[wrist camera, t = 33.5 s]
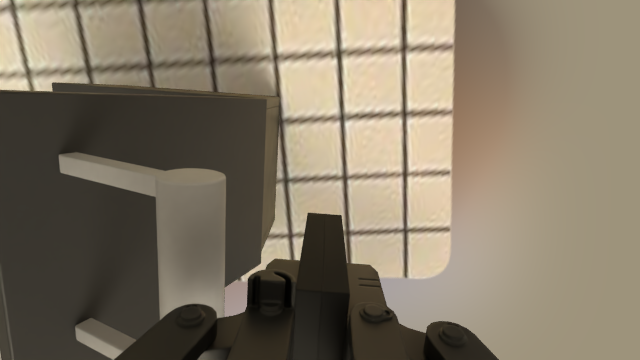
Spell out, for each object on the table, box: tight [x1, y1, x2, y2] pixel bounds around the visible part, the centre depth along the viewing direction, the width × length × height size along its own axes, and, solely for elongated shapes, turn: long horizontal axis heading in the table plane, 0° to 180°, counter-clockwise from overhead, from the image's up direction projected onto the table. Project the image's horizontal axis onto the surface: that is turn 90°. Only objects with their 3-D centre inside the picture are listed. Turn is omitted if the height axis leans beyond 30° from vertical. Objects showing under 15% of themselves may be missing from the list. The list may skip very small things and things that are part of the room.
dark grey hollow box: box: [52, 83, 280, 251], centre depth 31 cm, size 15×12×9 cm
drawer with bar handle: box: [0, 90, 267, 360], centre depth 18 cm, size 16×12×8 cm
